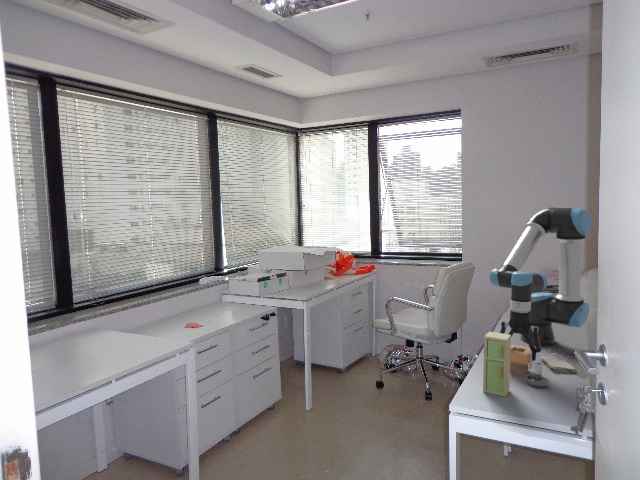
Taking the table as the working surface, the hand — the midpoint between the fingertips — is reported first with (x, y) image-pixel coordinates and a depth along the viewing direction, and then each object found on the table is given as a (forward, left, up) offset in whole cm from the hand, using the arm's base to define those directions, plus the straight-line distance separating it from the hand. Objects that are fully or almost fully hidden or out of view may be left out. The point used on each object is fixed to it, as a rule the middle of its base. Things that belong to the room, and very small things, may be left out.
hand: (517, 365), depth 186 cm
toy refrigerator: (+25, -1, -3) cm, 25 cm away
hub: (+9, +10, -2) cm, 13 cm away
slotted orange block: (0, 0, +3) cm, 3 cm away
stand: (0, 0, -2) cm, 2 cm away
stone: (-14, +12, -3) cm, 18 cm away
